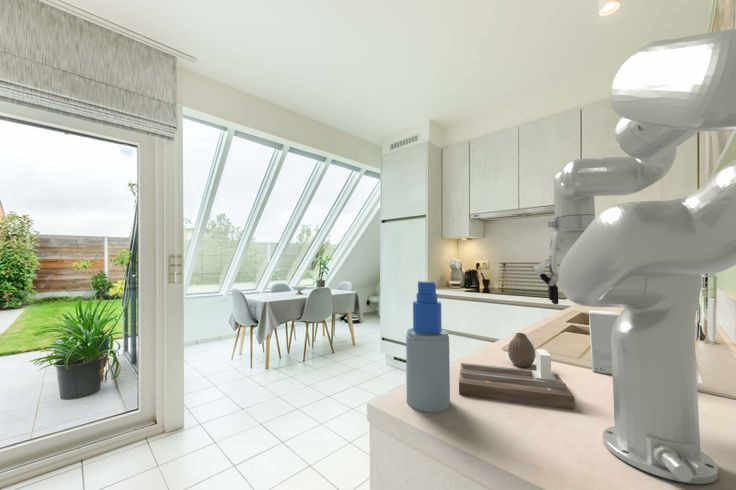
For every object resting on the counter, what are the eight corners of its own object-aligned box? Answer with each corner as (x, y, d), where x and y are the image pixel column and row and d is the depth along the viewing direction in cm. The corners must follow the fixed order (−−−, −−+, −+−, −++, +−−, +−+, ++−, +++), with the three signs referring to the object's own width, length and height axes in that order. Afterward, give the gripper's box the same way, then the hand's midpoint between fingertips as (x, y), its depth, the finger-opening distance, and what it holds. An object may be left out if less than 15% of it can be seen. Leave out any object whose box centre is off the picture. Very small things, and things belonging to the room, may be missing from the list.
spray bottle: (398, 404, 63) (398, 281, 65) (418, 389, 71) (417, 279, 72) (439, 416, 58) (438, 283, 60) (456, 399, 66) (454, 281, 67)
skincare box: (622, 377, 78) (619, 315, 79) (590, 371, 82) (588, 312, 83) (620, 368, 85) (618, 311, 86) (591, 363, 89) (589, 308, 90)
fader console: (574, 409, 61) (574, 391, 61) (459, 394, 68) (458, 377, 68) (556, 383, 74) (556, 368, 75) (461, 372, 81) (461, 359, 82)
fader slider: (557, 385, 66) (556, 356, 67) (536, 383, 67) (535, 354, 68) (551, 377, 71) (550, 350, 71) (531, 375, 72) (531, 348, 73)
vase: (536, 363, 89) (535, 332, 89) (534, 370, 83) (533, 337, 83) (510, 359, 92) (509, 329, 93) (506, 366, 87) (505, 334, 87)
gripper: (534, 225, 68) (536, 304, 67) (630, 221, 63) (634, 308, 61) (528, 228, 75) (530, 301, 74) (614, 226, 70) (618, 304, 69)
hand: (577, 304), depth 68 cm, fingers open, 8 cm apart
